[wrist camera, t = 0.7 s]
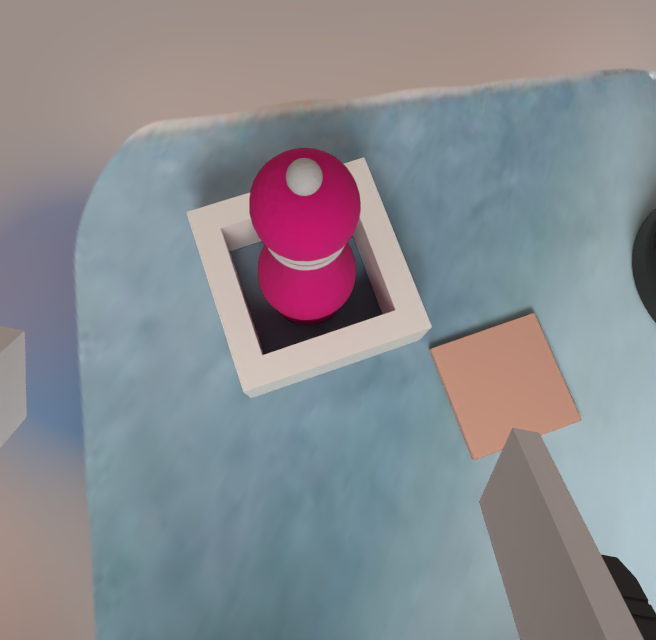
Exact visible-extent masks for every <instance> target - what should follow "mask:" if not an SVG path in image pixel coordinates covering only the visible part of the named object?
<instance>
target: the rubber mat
mask: <svg viewBox="0 0 656 640" xmlns="http://www.w3.org/2000/svg"><path fill="white" fill-rule="evenodd" d="M430 353H431V356H432V358H433V361H434V363H435V366H436V368H437V371H438V373H439V376H440V378H441V381H442V383H443V386H444V389H445V391H446V394H447V396H448V399H449V401H450V404H451V406H452V409H453V411H454V414H455V416H456V419H457V422H458V424H459V427H460V429H461V432H462V434H463V437H464V439H465V442H466V444H467V447H468V449H469V452H470V455H471V457H472V460H476V459H479V458H481V457H484V456H487V455H489V454H492V453H495V452H497V451H500V450H503V447H504V445H505V443H506V441H507V439H508V436H509V434H510V432H511V430H512V427H513V428H518V429H523V430H528V431H533V432H538V433H539V434H540V435H543V434H546V433H548V432H551V431H554V430H556V429H559V428H562V427H565V426H567V425H570V424H573V423H575V422H578V421H581V418H580V415H579V413H578V411H577V409H576V406H575V404H574V402H573V399H572V397H571V395H570V393H569V390H568V388H567V386H566V384H565V381H564V379H563V377H562V374H561V372H560V370H559V368H558V365H557V363H556V361H555V359H554V356H553V354H552V352H551V349H550V347H549V345H548V343H547V340H546V338H545V336H544V334H543V331H542V329H541V327H540V325H539V322H538V320H537V318H536V315H535V313H532V314H529V315H527V316H524V317H521V318H518V319H515V320H512V321H509V322H506V323H504V324H501V325H498V326H495V327H492V328H489V329H486V330H483V331H481V332H478V333H475V334H472V335H469V336H466V337H463V338H460V339H458V340H455V341H452V342H449V343H446V344H443V345H440V346H437V347H435V348H432V349H430Z"/></svg>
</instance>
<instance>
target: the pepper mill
mask: <svg viewBox="0 0 656 640" xmlns="http://www.w3.org/2000/svg"><path fill="white" fill-rule="evenodd" d="M360 212H361V202H360V193H359V190H358V187H357V184H356V181H355V179H354V177H353V176H352V174H351V173H350V171H349V170H348V168H347V167H346V166H345V165H344V164H343V163H342V162H340V161H339V160H338V159H337V158H336V157H334V156H332V155H330V154H329V153H326V152H324V151H320V150H317V149H311V148H299V149H292V150H289V151H286V152H283V153H281V154H279V155H277V156H276V157H274V158H273V159H271V160H270V161H269V162H267V163H266V164H265V165H264V166H263V167H262V169H261V170H260V171H259V173H258V174H257V176H256V178H255V180H254V182H253V184H252V187H251V191H250V198H249V213H250V217H251V221H252V225H253V227H254V229H255V231H256V233H257V235H258V237H259V238H260V239H261V241H262V242H263V243H264V244H265V245H264V247H263V249H262V251H261V253H260V257H259V261H258V279H259V285H260V287H261V290H262V293H263V294H264V296H265V298H266V299H267V301H268V302H269V303H270V304H271V305H272V306H273V307H274V308H275V309H276V310H277V311H278V312H279V313H280V314H281V315H282V316H283V317H284V318H286V319H287V320H289V321H291V322H294V323H297V324H302V325H313V324H318V323H321V322H324V321H326V320H327V319H329V318H331V317H332V316H333V315H334V314H335V313H336V312H337V311H338V310H339V309H340V307H341V306H342V305H343V304H344V303H345V302H346V300H347V299H348V297H349V296H350V294H351V292H352V290H353V287H354V284H355V278H356V267H355V259H354V256H353V253H352V250H351V248H350V246H349V244H348V243H347V242H348V241H349V239H350V238H351V237H352V236H353V234H354V232H355V229H356V227H357V224H358V221H359V218H360Z"/></svg>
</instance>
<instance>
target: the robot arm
mask: <svg viewBox="0 0 656 640" xmlns="http://www.w3.org/2000/svg"><path fill="white" fill-rule="evenodd" d="M633 272H634V278H635V283H636V287H637V290H638V293H639V295H640V298H641V300H642V302H643V304H644V306H645V308H646V309H647V311H648V313H649V314H650V316H651V317H652V318H653V320H654V321H655V322H656V208H655V209H654V210H653V211H652V212H651V213H650V215H649V216H648V217H647V218H646V220H645V221H644V223H643V225H642V226H641V228H640V230H639V232H638V235H637V238H636V241H635V245H634V251H633ZM25 375H26V374H25V331H23V330H17V329H13V328H7V327H3V326H0V448H1V446H2V445H3V444H4V443H5V442H6V440H7V439H8V438H9V437H10V436H11V435H12V433H13V432H14V431H15V430H16V429H17V428H18V426H19V425H20V424H21V423H22V422H23V421H24V419H25V418H26V376H25ZM479 503H480V506H481V510H482V513H483V516H484V520H485V523H486V526H487V530H488V533H489V536H490V540H491V543H492V546H493V550H494V553H495V556H496V560H497V563H498V566H499V570H500V573H501V576H502V580H503V583H504V587H505V590H506V593H507V597H508V600H509V603H510V607H511V610H512V613H513V617H514V620H515V623H516V627H517V630H518V633H519V637H520V640H656V613H655V612H654V610H653V608H652V606H651V605H649V604H648V599H647V597H646V595H645V593H644V592H643V590H642V588H641V586H640V584H639V583H638V581H637V579H636V578H635V577H634V575H633V574H632V573H631V572H630V571H629V570H628V569H627V568H626V567H625V566H624V565H623V563H622V562H621V561H620V560H619V559H618V558H616V557H611V556H606V555H601V554H600V552H599V550H598V548H597V546H596V544H595V542H594V540H593V538H592V536H591V534H590V532H589V530H588V528H587V526H586V524H585V522H584V521H583V519H582V517H581V515H580V513H579V511H578V509H577V507H576V505H575V503H574V501H573V499H572V497H571V495H570V493H569V491H568V489H567V487H566V485H565V483H564V481H563V479H562V477H561V475H560V473H559V471H558V469H557V467H556V465H555V463H554V461H553V459H552V457H551V455H550V453H549V451H548V449H547V447H546V445H545V443H544V441H543V440H542V438H541V436H540V434H539V433H538V432H533V431H528V430H523V429H518V428H513V427H512V430H511V432H510V434H509V436H508V439H507V441H506V443H505V445H504V447H503V450H502V452H501V454H500V456H499V459H498V461H497V463H496V465H495V468H494V470H493V472H492V474H491V476H490V479H489V481H488V483H487V485H486V488H485V490H484V492H483V494H482V497H481V499H480V501H479Z"/></svg>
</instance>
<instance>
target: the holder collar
mask: <svg viewBox="0 0 656 640" xmlns="http://www.w3.org/2000/svg"><path fill="white" fill-rule="evenodd" d="M344 165H345V166H346V167H347V168H348V170H349V171H350V173H351V174H352V176H353V177H354V179H355V181H356V184H357V187H358V190H359V193H360V202H361V212H360V218H359V221H358V224H357V227H356V229H355V232H354V234H353V238H354V241H355V243H356V246H357V248H358V251H359V254H360V256H361V259H362V262H363V264H364V267H365V269H366V272H367V275H368V277H369V280H370V283H371V285H372V288H373V290H374V293H375V296H376V298H377V301H378V304H379V306H380V309H381V311H382V314H383V315H380V316H377V317H374V318H371V319H368V320H365V321H362V322H359V323H356V324H353V325H350V326H347V327H345V328H342V329H339V330H336V331H333V332H330V333H327V334H324V335H321V336H318V337H315V338H312V339H309V340H306V341H303V342H300V343H297V344H294V345H291V346H288V347H285V348H283V349H280V350H277V351H274V352H271V353H268V354H265V355H264V353H263V350H262V347H261V344H260V341H259V338H258V335H257V332H256V329H255V325H254V322H253V319H252V316H251V313H250V310H249V307H248V304H247V301H246V298H245V295H244V292H243V289H242V286H241V283H240V280H239V277H238V274H237V271H236V268H235V265H234V262H233V259H232V256H231V253H230V251H232V250H236V249H239V248H242V247H245V246H248V245H251V244H255V243H258V242H261V239H260V238H259V237H258V235H257V233H256V231H255V229H254V227H253V225H252V221H251V217H250V213H249V198H250V193H247V194H243V195H240V196H237V197H234V198H230V199H227V200H224V201H221V202H217V203H214V204H211V205H208V206H204V207H201V208H198V209H195V210H191V211H188V212H186V213H187V216H188V219H189V222H190V225H191V228H192V231H193V235H194V238H195V241H196V244H197V247H198V250H199V254H200V257H201V260H202V263H203V266H204V269H205V272H206V276H207V279H208V282H209V285H210V288H211V291H212V294H213V298H214V301H215V304H216V307H217V310H218V313H219V317H220V320H221V323H222V326H223V329H224V332H225V335H226V339H227V342H228V345H229V348H230V351H231V354H232V357H233V361H234V364H235V367H236V370H237V373H238V376H239V379H240V383H241V386H242V389H243V392H244V393H245V394H247V395H248V396H249V397H250V398H254V397H256V396H259V395H262V394H265V393H268V392H271V391H274V390H277V389H280V388H282V387H285V386H288V385H291V384H294V383H297V382H300V381H303V380H306V379H309V378H311V377H314V376H317V375H320V374H323V373H326V372H329V371H332V370H335V369H337V368H340V367H343V366H346V365H349V364H352V363H355V362H358V361H361V360H363V359H366V358H369V357H372V356H375V355H378V354H381V353H384V352H387V351H389V350H392V349H395V348H398V347H401V346H404V345H407V344H410V343H413V342H416V341H418V340H420V339H421V338H422V337H423V336H424V335H425V334H426V333H427V332H428V331H429V330H430V329H431V327H432V326H431V324H430V321H429V319H428V316H427V314H426V311H425V309H424V306H423V304H422V301H421V299H420V296H419V294H418V291H417V289H416V286H415V284H414V281H413V279H412V276H411V273H410V271H409V268H408V266H407V263H406V261H405V258H404V256H403V253H402V251H401V248H400V246H399V243H398V241H397V238H396V236H395V233H394V231H393V228H392V226H391V223H390V221H389V218H388V216H387V213H386V211H385V208H384V206H383V203H382V201H381V198H380V196H379V193H378V191H377V188H376V186H375V183H374V181H373V178H372V176H371V173H370V171H369V168H368V166H367V163H366V161H365V158H364V157H363V158H360V159H357V160H354V161H350V162H347V163H344Z"/></svg>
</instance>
